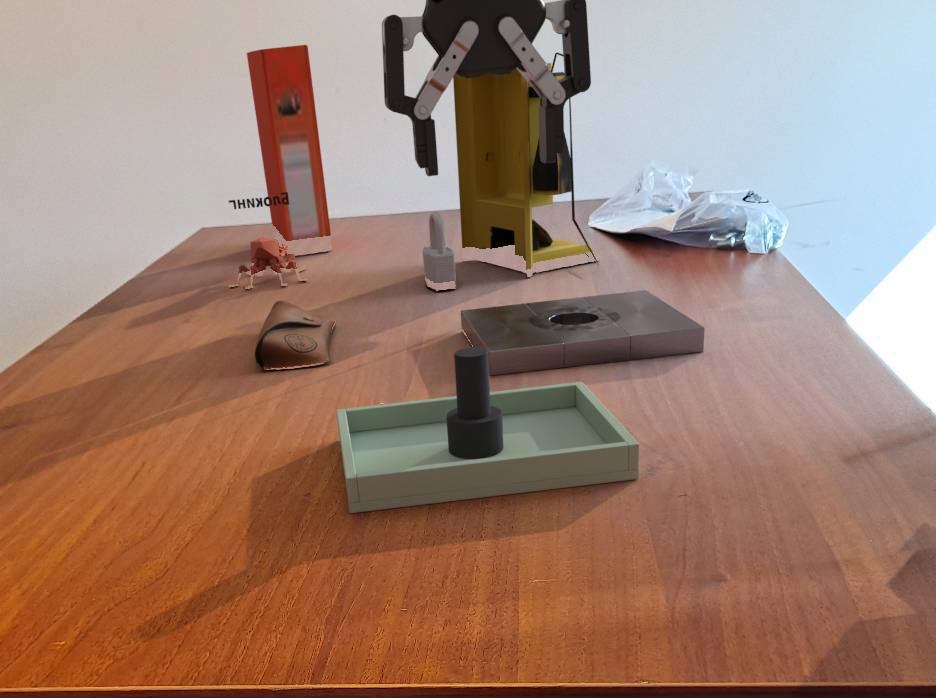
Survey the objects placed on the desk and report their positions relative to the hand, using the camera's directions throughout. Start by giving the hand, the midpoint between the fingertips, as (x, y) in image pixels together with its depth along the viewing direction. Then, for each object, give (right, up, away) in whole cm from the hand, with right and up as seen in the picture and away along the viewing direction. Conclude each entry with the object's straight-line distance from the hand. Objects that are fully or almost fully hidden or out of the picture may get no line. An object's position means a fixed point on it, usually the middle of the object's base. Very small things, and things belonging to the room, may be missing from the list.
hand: (490, 168), depth 71 cm
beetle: (-26, +14, +81) cm, 86 cm away
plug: (0, -20, +8) cm, 21 cm away
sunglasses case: (-18, -5, +43) cm, 47 cm away
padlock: (-1, +8, +66) cm, 66 cm away
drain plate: (+13, -5, +36) cm, 38 cm away
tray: (0, -20, +8) cm, 22 cm away
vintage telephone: (+14, +14, +74) cm, 77 cm away
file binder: (-24, +25, +104) cm, 110 cm away
